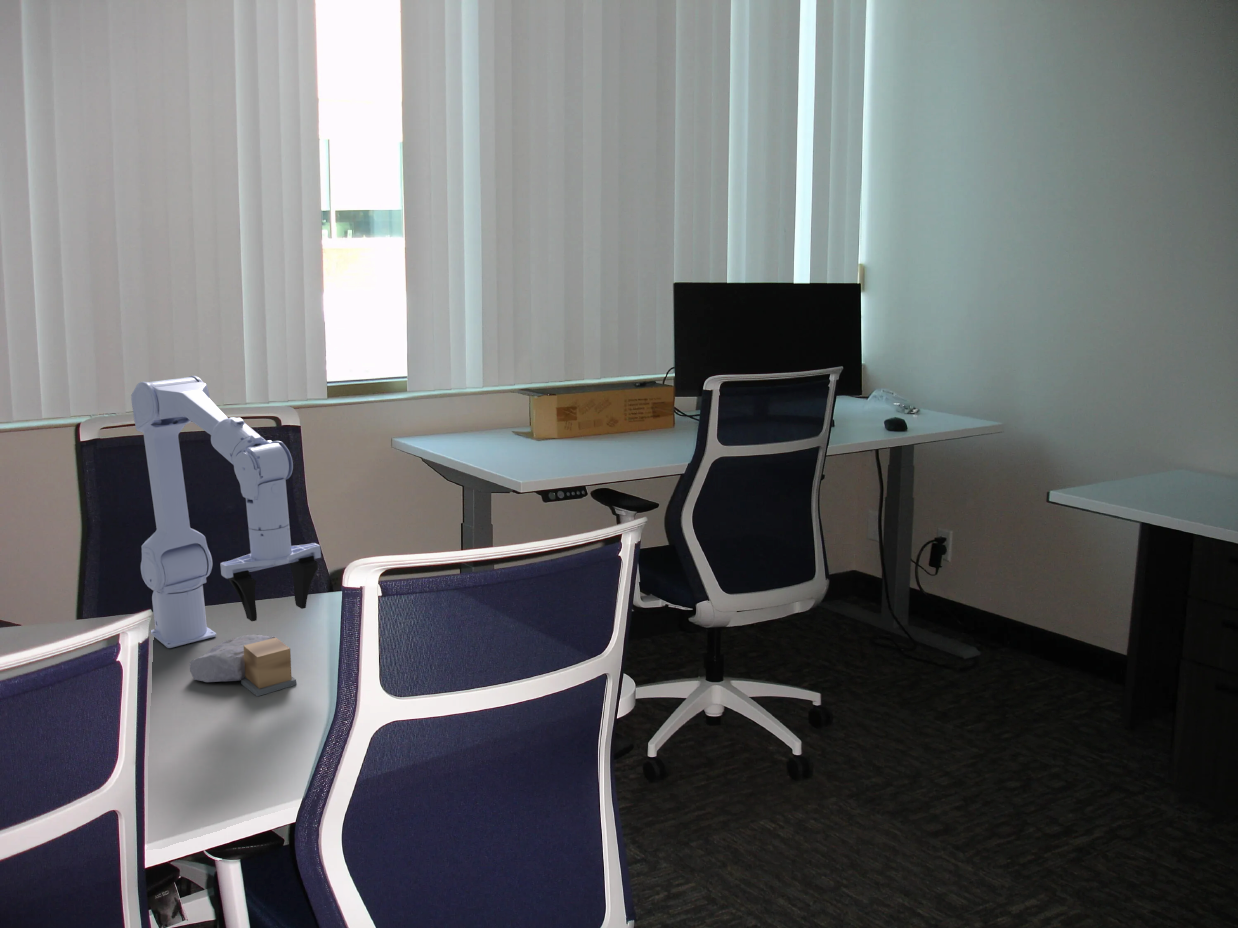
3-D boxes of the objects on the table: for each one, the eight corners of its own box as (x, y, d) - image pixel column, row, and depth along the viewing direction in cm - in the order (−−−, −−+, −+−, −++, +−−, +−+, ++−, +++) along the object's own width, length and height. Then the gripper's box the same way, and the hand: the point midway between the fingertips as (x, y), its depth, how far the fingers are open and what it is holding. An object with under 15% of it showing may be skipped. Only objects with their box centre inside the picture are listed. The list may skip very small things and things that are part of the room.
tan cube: (245, 676, 157) (243, 645, 155) (277, 667, 160) (276, 637, 159) (258, 688, 153) (257, 656, 152) (291, 679, 156) (290, 648, 155)
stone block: (188, 693, 157) (244, 680, 155) (178, 663, 157) (234, 649, 154) (233, 666, 169) (286, 654, 166) (224, 638, 168) (277, 625, 166)
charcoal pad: (241, 683, 157) (240, 678, 157) (279, 672, 161) (279, 667, 161) (257, 696, 153) (256, 691, 152) (296, 684, 156) (296, 679, 156)
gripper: (230, 540, 146) (239, 632, 149) (327, 521, 155) (333, 607, 158) (211, 530, 151) (220, 619, 154) (306, 512, 161) (313, 596, 164)
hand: (276, 612), depth 157 cm, fingers open, 7 cm apart
